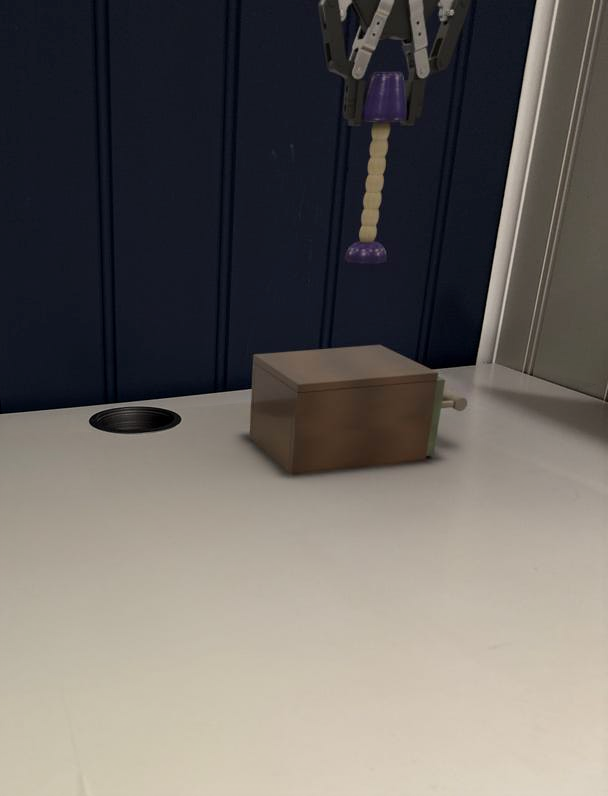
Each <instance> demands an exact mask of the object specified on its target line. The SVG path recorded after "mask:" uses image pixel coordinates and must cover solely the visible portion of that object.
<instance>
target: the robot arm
mask: <svg viewBox="0 0 608 796" xmlns="http://www.w3.org/2000/svg"><path fill="white" fill-rule="evenodd" d="M471 2H472V1H471V0H319V2H318V4H317V8H318V9H317V10H318V15H319V22H320V29H321V36H322V43H323V44H322V45H323V49H324V56H325V63H326V68H327V70H328V71H329V72H330V73H334V74H336V75H339V76H341V77H342V78H343V80H344V92H343V95H344V96H343V103H342V116H343V119H346V120H347V126H350V127H360V126H361V125H362V122H363V121H362V112H363V102H364V93H365V90H366V79H365V80H363V78H364V76H365V74H366V71H367V69H368V65H369V63H370V60H371V57H372V55H373V53H374V52H375V51H376V48H377V46H378V44H379V41H381V40H385V39H391V40H394V41H400V45H401V50H402V52H403V54H404V57H405V64H406V71H407V75H408V79H407V80H406V79H404V86H405V96H406V108H407V118H406V120H405V121H402V122H399V124H400V125H401V126H414V125H415V123H416V119H419V118H420V117H421V115H422V112H423V107H424V99H425V90H426V84H427V83H426V82H427V80H428V78H429V77H430V76H431V75H433V74H435V73H438V72H440V71H445V70H446V69H447V68H448V67H449V65H450V63H451V61H452V57H453V54H454V51H455V49H456V46H457V43H458V40H459V37H460V34H461V32H462V29H463V26H464V23H465V20H466V19H467V15H468V12H469V10H470V7H471ZM437 6H438V19H439V21H440V24H439V28H438V31H437V34H436V37H435V40H434V42H433V45H432V48H431V51H430V54H428V46H429V42H428V34H427V28H426V22H427V20H428V19H429V17H430V16H431V15H432V13H433V12H434V11H435V9H436V7H437ZM348 7H350V8H351V10H352V12H353V14H354V17H355V18H356V20H357V22H358V24H359V27H358V30H357V32H356V36H355V38H354V40H353V44H352V47H351V52H350V56H349V59H348V58H347V54H346V46H345V37H344V32H343V31H344V29H343V24H342V22H344V21H345V20H346V18H347V14H348V13H347V10H348Z"/></svg>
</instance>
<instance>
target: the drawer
mask: <svg viewBox="0 0 608 796" xmlns="http://www.w3.org/2000/svg"><path fill="white" fill-rule="evenodd" d="M445 384H446V379H445V378H443V377H441V376H439V375H438V379H437V387H436V394H435V401H434V407H433V414H432V421H431V428H430V435H429V441H428V448H427V455H426V457H430V456H435V450H436V445H437V444H436V442H437V437H438V430H439V425H440V424H439V423H440V417H441V410H442V409H453V410H455V411H457V412H462V411H464V410H465V409H466V408H467V406H468V400H467V398H465V397H464V396H461V395H459V394H458V393H455V392H453V391H452V390H449V389H447V388H445Z"/></svg>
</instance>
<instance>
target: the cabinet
mask: <svg viewBox="0 0 608 796" xmlns="http://www.w3.org/2000/svg"><path fill="white" fill-rule="evenodd" d="M438 376H439V372H437V371H436V370H434V369H431V368H429V367H427V366H425V365H423V364H421V363H418V362H417V361H416V360H415V361H414V360H413V359H410V358H408V357H406V356H404V355H402V354H400V353H398V352H396V351H394V350H392V349H390V348H388V347H386V346H384V345H381V344H371V345H359V346H346V347H334V348H321V349H307V350H296V351H295V350H294V351H283V352H282V351H281V352H280V351H279V352H267V353H255V354H253V357H252V373H251V395H250V398H251V399H250V418H249V419H250V420H249V439H251V440H252V441H253V443H255V444H256V445H258V446H259V448H261V449H262V450H263V451H264V452H265V453H266V454H267V455H269V456H270V457H271V458H272V459H273V460H274V461H275V462H276V463H277V464H278V465H279V466H281V467H282V468H283V469H284V470H285V471H286V472H287V473H289V474H290V475H291V476H298V475H306V474H307V475H308V474H316V473H325V472H335V471H344V470H345V471H346V470H355V469H363V468H372V467H373V468H374V467H383V466H394V465H401V464H402V465H403V464H413V463H420V462H422V463H423V462H426V460H427V456H426V455H427V448H428V441H429V435H430V428H431V421H432V414H433V407H434V401H435V394H436V387H437V379H438Z"/></svg>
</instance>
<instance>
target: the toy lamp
mask: <svg viewBox="0 0 608 796" xmlns="http://www.w3.org/2000/svg"><path fill="white" fill-rule="evenodd" d="M404 84H405V77H404V73H403V72H402V71H373V72H371V74H370V75H369V78H368V81H367V83H366V86H365V91H364V102H363V112H362V121H361V122H363V123H364V122H366V123H373V124H372V127H371V138H372V141H371V142H370V145H369V155H370V158H369V159H368V163H367V173H368V175H367V177H366V180H365V191H366V192H365V193H364V195H363V200H362V201H363V202H362V205H363V209H362V213H361V216H360V217H361V218H360V219H361V220H360V222H361V227H360V229H359V233H358V237H359V240H358V241H355V242H354V243H351V245H350V246H349V247H348V249H347V250H346V251H345V254H344V260H345V261H346V262H348V263H349V262H350V263H355V264H382V263H385V262H386V261H387V250H386V249H385V247H384V245H382V243H380V242H378V241H376V240H375V239H376V237H377V233H378V231H377V230H378V229H377V225H378V222H379V219H380V210H379V208H380V206H381V203H382V192H381V191H382V190H383V187H384V184H385V183H384V182H385V179H384V173H385V170H386V164H387V161H386V155H387V153H388V149H389V143H388V138H389V135H390V132H391V123H400V122H402V121H405V120H406V118H407V108H406V96H405V86H404Z"/></svg>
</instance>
